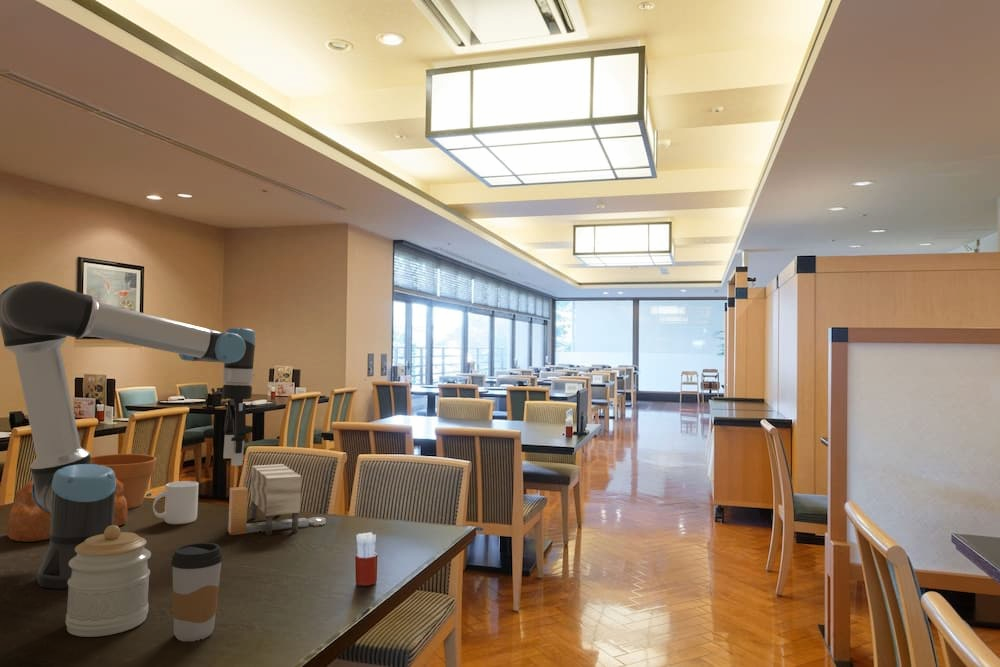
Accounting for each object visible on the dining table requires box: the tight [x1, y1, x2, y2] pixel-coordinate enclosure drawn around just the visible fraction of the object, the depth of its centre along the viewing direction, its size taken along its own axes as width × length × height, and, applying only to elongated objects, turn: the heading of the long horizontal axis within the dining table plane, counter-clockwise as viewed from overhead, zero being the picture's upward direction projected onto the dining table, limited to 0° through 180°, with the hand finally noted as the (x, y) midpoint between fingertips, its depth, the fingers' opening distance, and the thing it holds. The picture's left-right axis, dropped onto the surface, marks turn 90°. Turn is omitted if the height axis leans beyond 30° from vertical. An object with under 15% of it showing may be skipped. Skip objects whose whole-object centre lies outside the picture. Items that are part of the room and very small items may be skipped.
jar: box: [65, 525, 152, 638], centre depth 120 cm, size 13×13×18 cm
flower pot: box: [90, 453, 157, 510], centre depth 207 cm, size 21×21×15 cm
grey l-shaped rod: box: [227, 486, 309, 536], centre depth 185 cm, size 4×21×12 cm, turn 121°
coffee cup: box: [170, 542, 224, 642], centre depth 116 cm, size 8×8×15 cm
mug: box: [152, 480, 199, 525], centre depth 190 cm, size 9×12×11 cm
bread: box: [6, 477, 129, 543], centre depth 179 cm, size 14×26×16 cm, turn 144°
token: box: [307, 516, 327, 526], centre depth 192 cm, size 5×5×2 cm
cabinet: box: [250, 463, 302, 537], centre depth 190 cm, size 22×9×16 cm, turn 31°
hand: (232, 461), depth 180 cm, fingers open, 13 cm apart
